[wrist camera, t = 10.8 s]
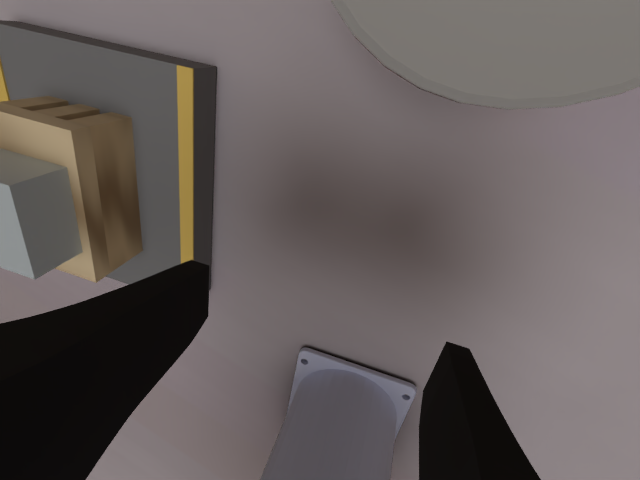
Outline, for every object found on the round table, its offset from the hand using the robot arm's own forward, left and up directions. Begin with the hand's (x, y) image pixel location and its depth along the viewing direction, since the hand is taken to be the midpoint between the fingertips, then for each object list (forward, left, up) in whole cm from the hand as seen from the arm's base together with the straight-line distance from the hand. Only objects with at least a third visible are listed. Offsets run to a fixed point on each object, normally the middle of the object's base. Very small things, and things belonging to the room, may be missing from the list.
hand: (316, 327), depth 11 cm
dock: (-2, +15, -10) cm, 18 cm away
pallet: (-2, +15, -8) cm, 17 cm away
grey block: (-2, +15, -4) cm, 16 cm away
